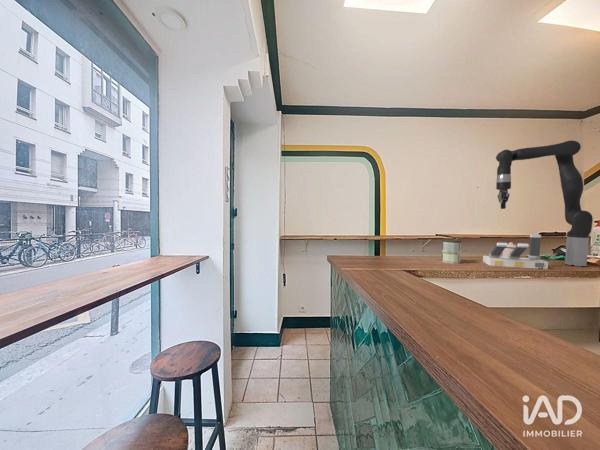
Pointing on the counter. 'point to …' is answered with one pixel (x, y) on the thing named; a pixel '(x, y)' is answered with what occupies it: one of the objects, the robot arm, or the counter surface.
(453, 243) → the coffee can
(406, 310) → the counter surface
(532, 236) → the lever near
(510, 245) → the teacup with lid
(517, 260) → the console
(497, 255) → the lever far
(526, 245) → the lever middle
